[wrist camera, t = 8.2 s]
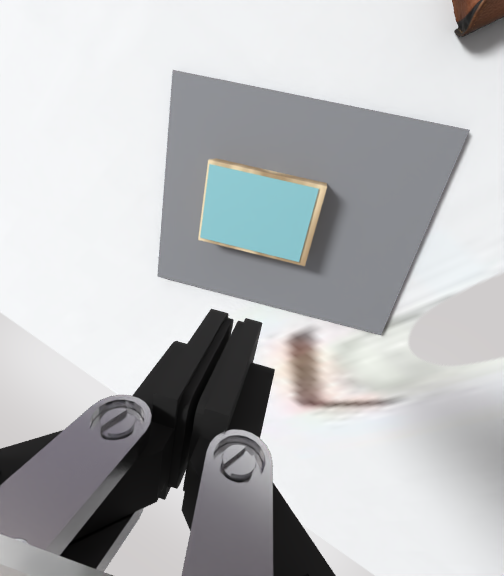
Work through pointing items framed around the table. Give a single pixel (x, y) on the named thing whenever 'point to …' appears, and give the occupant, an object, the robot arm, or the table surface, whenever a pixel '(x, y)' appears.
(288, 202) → the maple tile
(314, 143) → the rubber mat
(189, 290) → the table surface
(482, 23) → the sunglasses case
